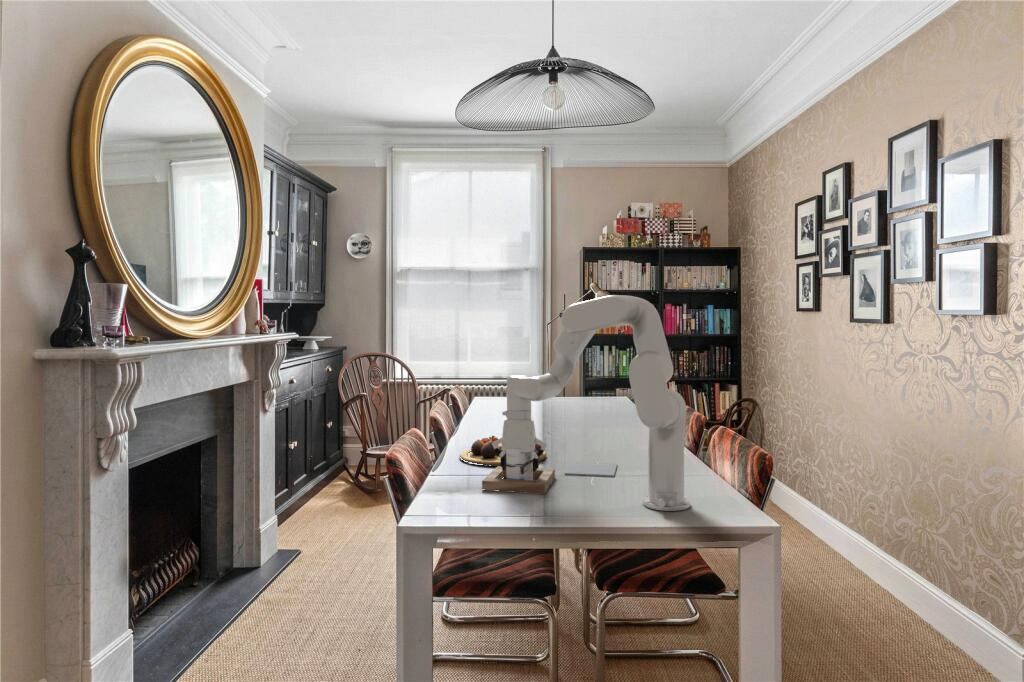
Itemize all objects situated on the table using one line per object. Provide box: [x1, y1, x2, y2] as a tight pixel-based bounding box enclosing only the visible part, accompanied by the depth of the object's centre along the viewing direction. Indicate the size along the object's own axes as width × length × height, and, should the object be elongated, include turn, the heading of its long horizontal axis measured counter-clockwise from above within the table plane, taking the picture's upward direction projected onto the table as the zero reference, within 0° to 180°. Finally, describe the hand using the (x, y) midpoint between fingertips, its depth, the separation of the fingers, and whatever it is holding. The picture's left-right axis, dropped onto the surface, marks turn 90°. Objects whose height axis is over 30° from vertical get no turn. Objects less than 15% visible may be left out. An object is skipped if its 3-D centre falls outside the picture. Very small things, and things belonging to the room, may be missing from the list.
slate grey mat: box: [564, 461, 618, 478], centre depth 215 cm, size 16×16×1 cm
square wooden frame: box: [481, 466, 556, 495], centre depth 198 cm, size 19×19×3 cm
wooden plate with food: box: [459, 434, 547, 466], centre depth 236 cm, size 32×32×8 cm
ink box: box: [505, 448, 534, 481], centre depth 198 cm, size 8×5×12 cm, turn 148°
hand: (519, 470), depth 198 cm, fingers open, 9 cm apart
